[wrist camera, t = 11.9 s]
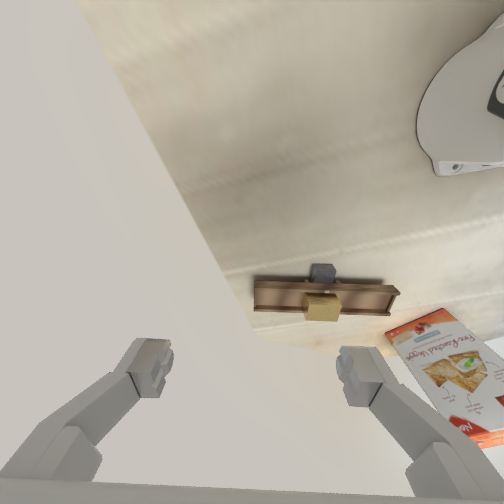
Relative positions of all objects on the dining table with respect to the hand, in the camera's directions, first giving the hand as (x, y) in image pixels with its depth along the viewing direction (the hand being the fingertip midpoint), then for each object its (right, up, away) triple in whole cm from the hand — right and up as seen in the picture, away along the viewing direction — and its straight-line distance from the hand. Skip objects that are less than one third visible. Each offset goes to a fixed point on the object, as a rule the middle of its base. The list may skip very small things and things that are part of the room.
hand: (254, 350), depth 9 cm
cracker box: (+40, -14, +39) cm, 58 cm away
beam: (+14, -4, +32) cm, 35 cm away
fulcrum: (+14, -3, +34) cm, 37 cm away
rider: (+13, -5, +31) cm, 34 cm away
